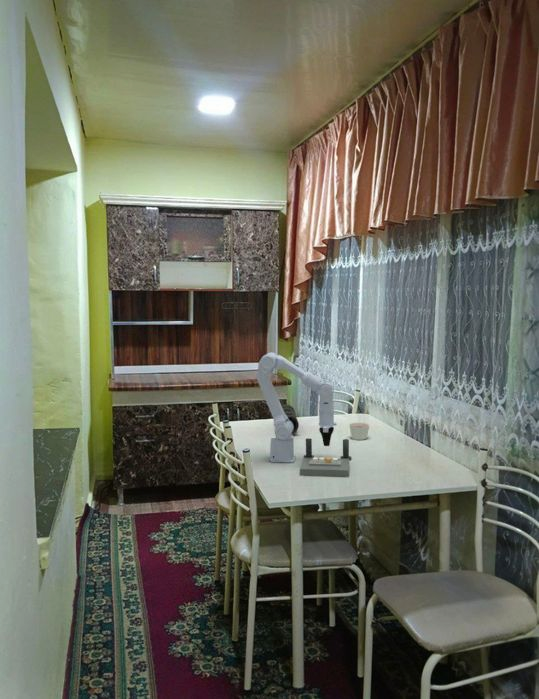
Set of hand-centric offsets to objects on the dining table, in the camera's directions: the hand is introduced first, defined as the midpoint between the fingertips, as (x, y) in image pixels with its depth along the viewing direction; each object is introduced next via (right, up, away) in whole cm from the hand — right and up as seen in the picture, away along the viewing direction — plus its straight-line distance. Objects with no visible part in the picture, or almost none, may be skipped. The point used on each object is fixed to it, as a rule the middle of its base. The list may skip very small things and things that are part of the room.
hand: (326, 445), depth 232 cm
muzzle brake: (-14, -1, +54) cm, 56 cm away
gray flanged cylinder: (-7, -6, +5) cm, 10 cm away
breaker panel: (-2, -8, -11) cm, 13 cm away
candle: (+18, -3, +35) cm, 39 cm away
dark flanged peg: (+8, -6, +3) cm, 10 cm away
